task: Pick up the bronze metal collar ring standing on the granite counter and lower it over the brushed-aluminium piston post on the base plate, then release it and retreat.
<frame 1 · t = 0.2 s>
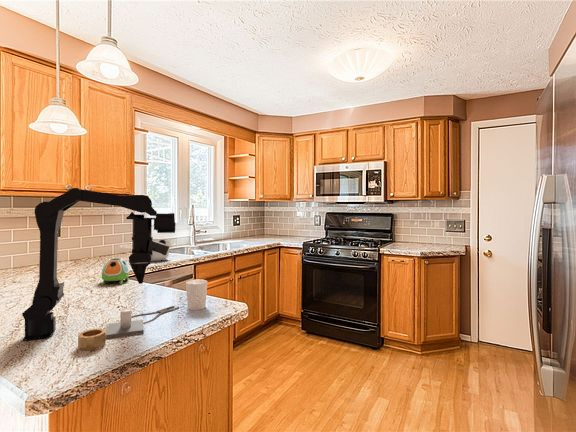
hand: (141, 280, 106), 14 cm above the countertop, fingers open, 9 cm apart
white cup: (196, 308, 124), on the countertop
pliers: (151, 315, 115), on the countertop
piston block: (125, 330, 100), on the countertop
ring: (92, 345, 89), on the countertop
turtle holder: (115, 281, 166), on the countertop
planter: (157, 260, 233), on the countertop
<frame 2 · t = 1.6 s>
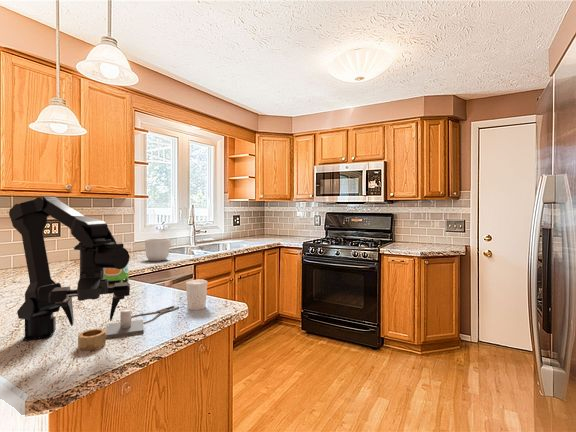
hand: (91, 322, 89), 6 cm above the countertop, fingers open, 9 cm apart
nothing on the countertop moved.
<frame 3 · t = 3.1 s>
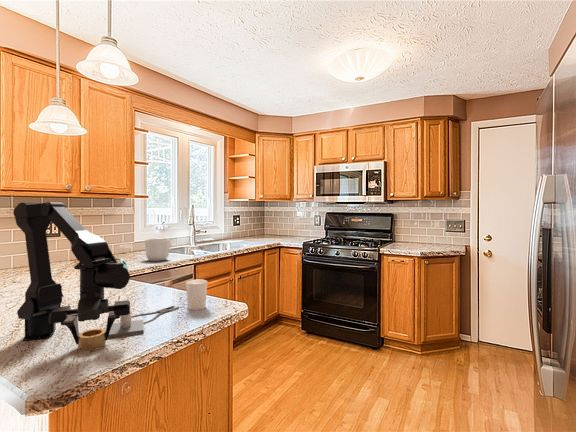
hand: (92, 341, 89), 1 cm above the countertop, fingers closed on ring, 6 cm apart
ring: (92, 345, 89), on the countertop, touching gripper
everything else where it was.
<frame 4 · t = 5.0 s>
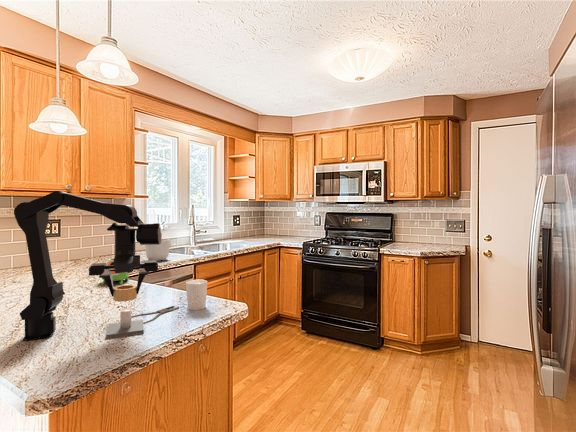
hand: (125, 295, 100), 11 cm above the countertop, fingers closed on ring, 6 cm apart
ring: (125, 298, 99), point 10 cm above the countertop, touching gripper
everything else where it was.
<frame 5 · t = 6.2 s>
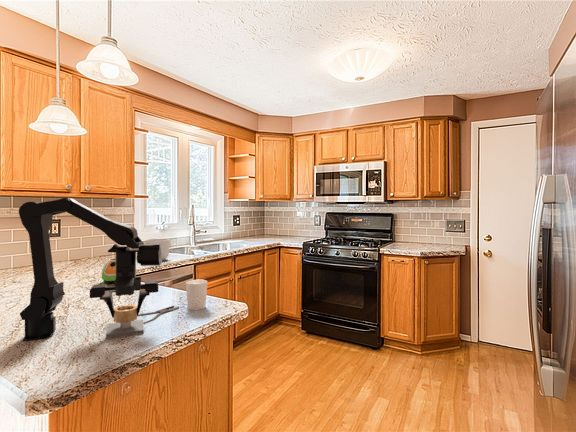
hand: (125, 316, 100), 4 cm above the countertop, fingers closed on ring, 6 cm apart
ring: (125, 319, 100), point 3 cm above the countertop, touching gripper
everything else where it was.
when the fingers open (4 cm above the countertop, at t = 7.2 s): ring drops 2 cm, resting on piston block.
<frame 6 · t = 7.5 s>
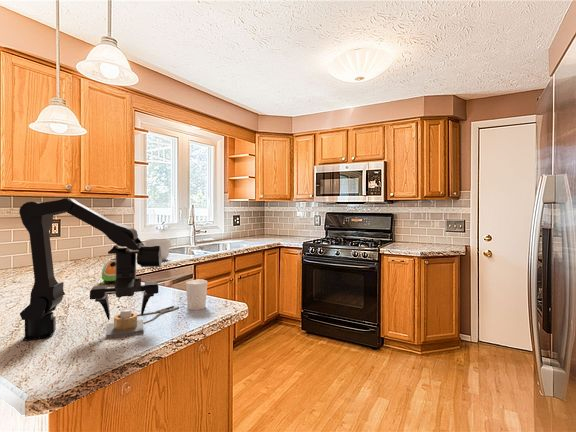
hand: (125, 317, 100), 4 cm above the countertop, fingers open, 9 cm apart
ring: (125, 326, 100), point 1 cm above the countertop, touching piston block
everything else where it was.
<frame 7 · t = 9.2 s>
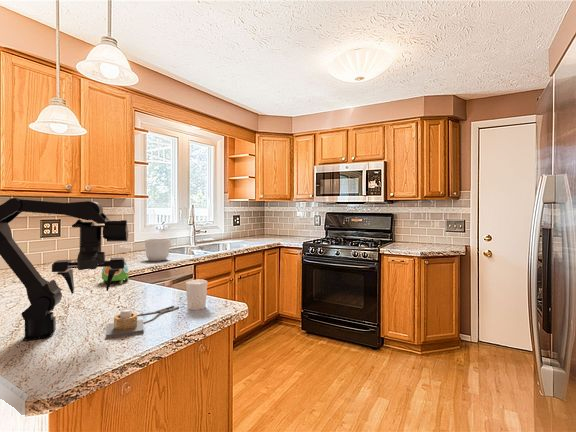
hand: (90, 292, 99), 12 cm above the countertop, fingers open, 9 cm apart
nothing on the countertop moved.
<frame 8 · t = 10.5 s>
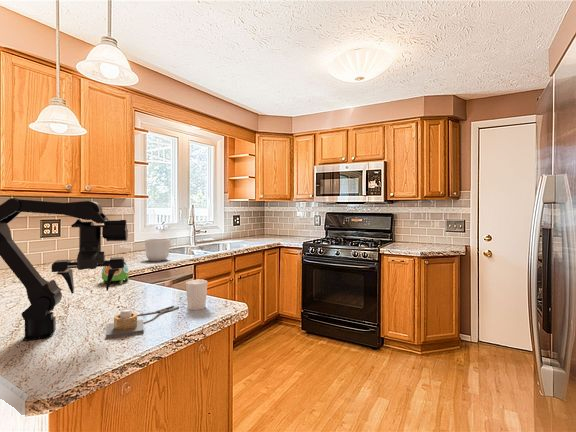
hand: (90, 291, 99), 12 cm above the countertop, fingers open, 9 cm apart
nothing on the countertop moved.
at the end: ring 0.1 cm off-centre on the piston block, point 1.0 cm above the piston block's base; ring tilted 0°; the gripper is holding nothing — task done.
